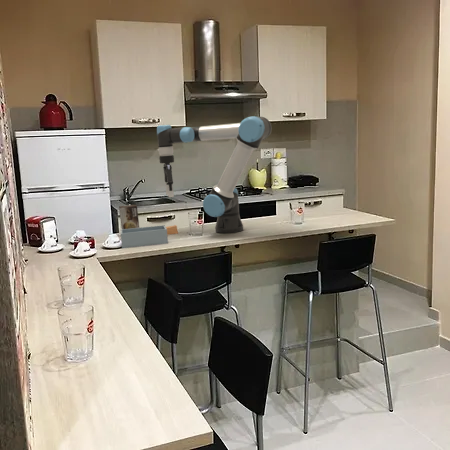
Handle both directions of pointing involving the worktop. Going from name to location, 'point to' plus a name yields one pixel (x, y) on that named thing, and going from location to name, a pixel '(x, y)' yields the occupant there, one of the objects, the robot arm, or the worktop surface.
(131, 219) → the coffee box
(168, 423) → the worktop surface
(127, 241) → the tub
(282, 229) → the worktop surface
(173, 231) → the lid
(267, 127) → the robot arm
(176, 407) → the worktop surface
